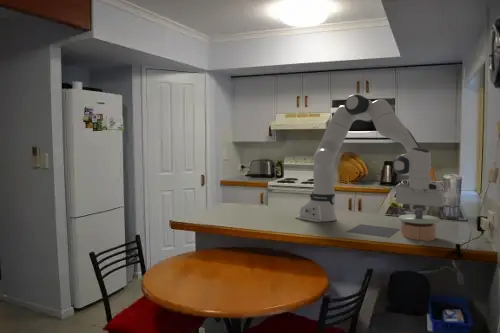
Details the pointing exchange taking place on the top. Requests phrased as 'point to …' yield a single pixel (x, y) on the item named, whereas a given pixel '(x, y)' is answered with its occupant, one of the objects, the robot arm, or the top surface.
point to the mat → (374, 230)
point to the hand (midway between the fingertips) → (419, 214)
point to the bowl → (418, 231)
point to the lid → (419, 218)
